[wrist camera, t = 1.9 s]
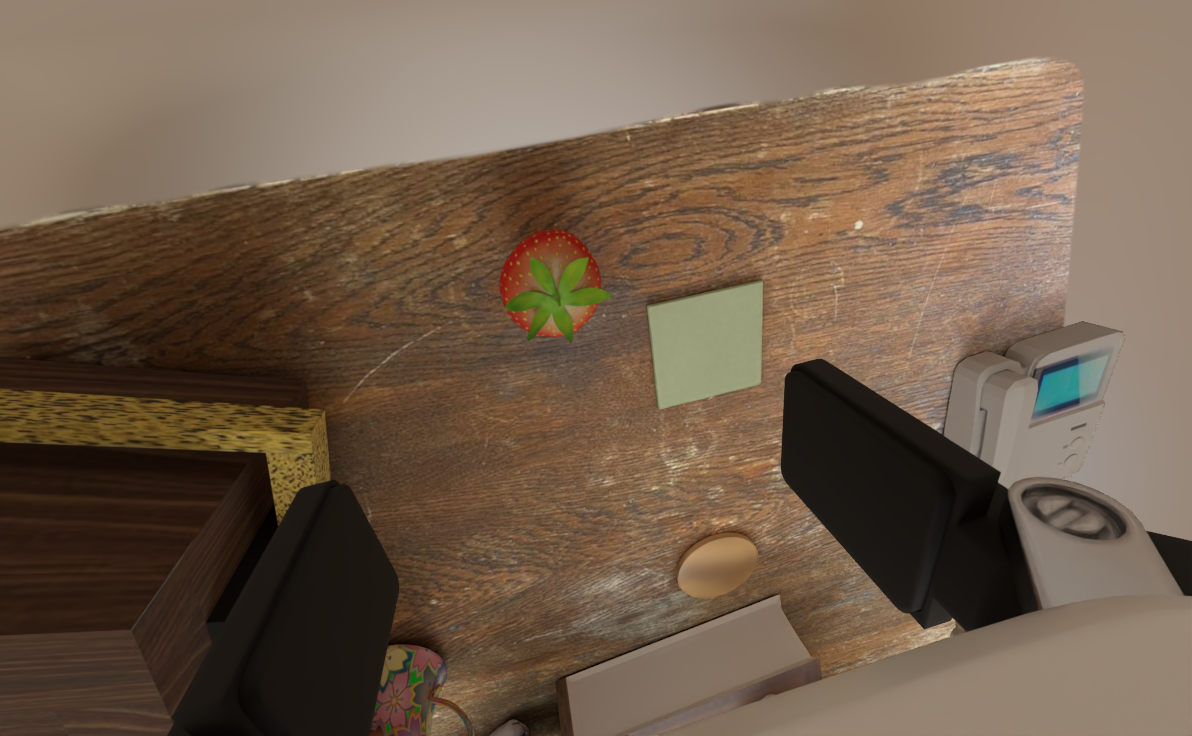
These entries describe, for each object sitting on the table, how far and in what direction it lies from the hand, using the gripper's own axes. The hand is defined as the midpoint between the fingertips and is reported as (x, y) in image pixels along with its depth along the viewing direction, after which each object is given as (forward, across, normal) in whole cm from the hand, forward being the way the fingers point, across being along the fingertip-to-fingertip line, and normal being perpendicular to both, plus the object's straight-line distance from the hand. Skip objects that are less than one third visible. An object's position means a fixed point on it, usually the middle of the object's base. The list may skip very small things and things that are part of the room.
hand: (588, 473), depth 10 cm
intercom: (+17, -41, +40) cm, 59 cm away
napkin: (+20, -11, +8) cm, 24 cm away
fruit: (+20, -1, 0) cm, 20 cm away
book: (+20, -8, +54) cm, 58 cm away
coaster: (+20, -11, +31) cm, 38 cm away
